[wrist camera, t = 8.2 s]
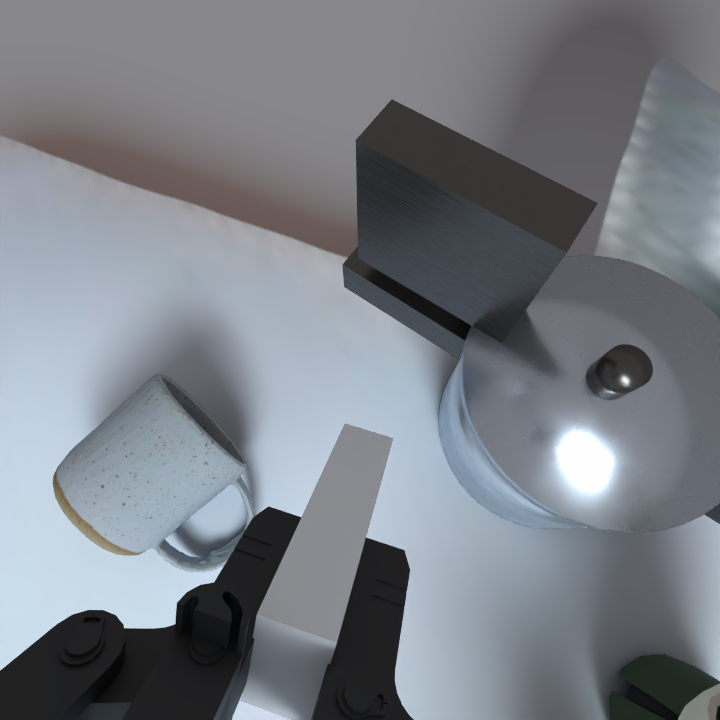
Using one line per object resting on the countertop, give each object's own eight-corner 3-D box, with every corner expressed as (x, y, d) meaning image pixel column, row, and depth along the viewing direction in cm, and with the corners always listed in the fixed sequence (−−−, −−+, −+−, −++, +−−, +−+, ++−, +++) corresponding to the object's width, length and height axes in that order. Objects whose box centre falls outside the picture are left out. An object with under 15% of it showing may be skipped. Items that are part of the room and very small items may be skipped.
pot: (302, 391, 33) (281, 342, 25) (400, 255, 37) (411, 171, 29) (649, 613, 28) (770, 644, 20) (722, 430, 32) (849, 392, 24)
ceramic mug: (90, 477, 32) (10, 461, 24) (189, 391, 33) (142, 353, 26) (191, 604, 29) (136, 629, 22) (292, 504, 31) (272, 496, 24)
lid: (780, 352, 24) (1002, 253, 16) (676, 599, 20) (896, 642, 12) (435, 170, 28) (466, 15, 20) (296, 347, 25) (260, 248, 16)
